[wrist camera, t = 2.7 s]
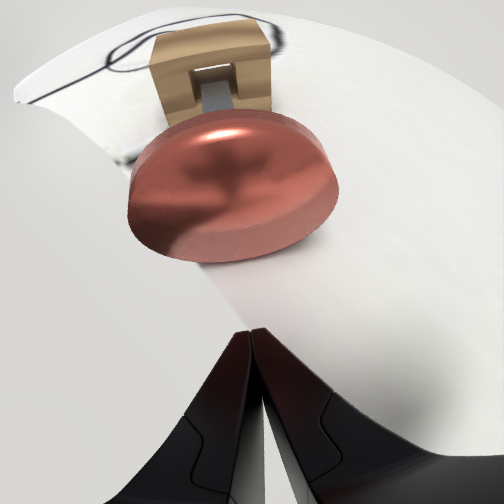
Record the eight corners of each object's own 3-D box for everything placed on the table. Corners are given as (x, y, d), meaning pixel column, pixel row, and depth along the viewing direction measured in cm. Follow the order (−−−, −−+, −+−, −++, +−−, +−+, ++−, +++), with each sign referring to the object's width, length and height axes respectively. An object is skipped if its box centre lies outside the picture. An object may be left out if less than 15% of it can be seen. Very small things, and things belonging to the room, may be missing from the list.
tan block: (271, 118, 21) (270, 44, 15) (172, 135, 21) (148, 65, 15) (257, 81, 24) (254, 18, 17) (174, 96, 24) (156, 36, 17)
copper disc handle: (321, 245, 16) (360, 127, 8) (167, 272, 16) (86, 176, 8) (279, 120, 20) (280, 17, 12) (166, 140, 20) (131, 43, 12)
